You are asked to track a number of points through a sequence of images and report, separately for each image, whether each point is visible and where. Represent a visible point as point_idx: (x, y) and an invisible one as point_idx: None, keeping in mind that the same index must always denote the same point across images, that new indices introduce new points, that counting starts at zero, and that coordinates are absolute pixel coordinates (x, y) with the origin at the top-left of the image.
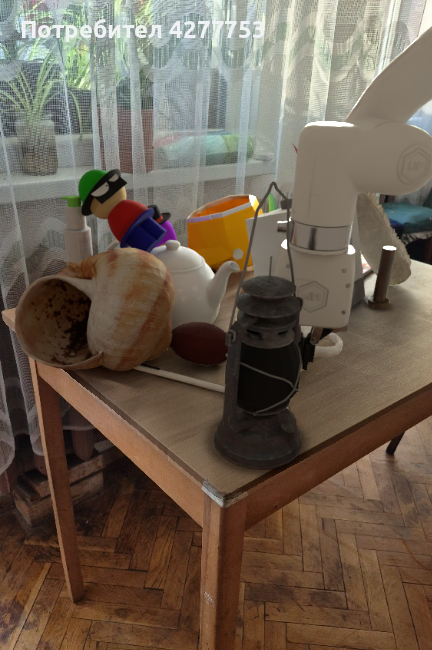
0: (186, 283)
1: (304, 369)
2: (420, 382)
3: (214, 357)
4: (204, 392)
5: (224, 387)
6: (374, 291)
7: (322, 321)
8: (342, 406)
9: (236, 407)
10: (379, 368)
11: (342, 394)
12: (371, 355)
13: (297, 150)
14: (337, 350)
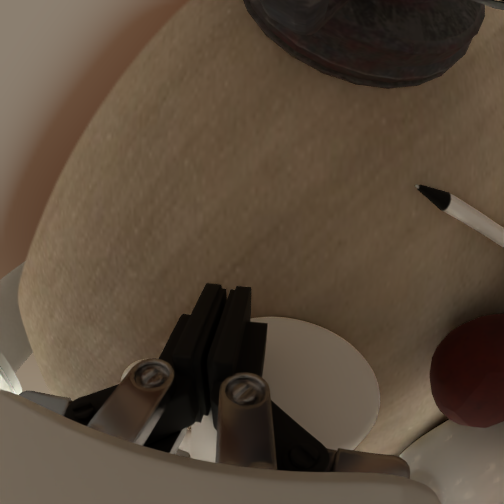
0: (484, 496)
1: (216, 285)
2: (20, 300)
3: (486, 326)
4: (495, 212)
5: (469, 212)
6: None
7: (39, 449)
8: (121, 182)
9: (463, 4)
10: (79, 346)
11: (124, 242)
12: (103, 384)
13: None
14: (125, 374)
